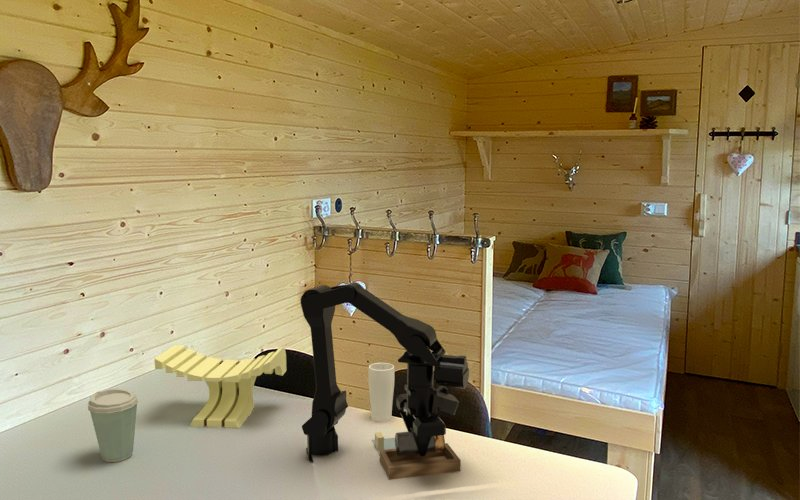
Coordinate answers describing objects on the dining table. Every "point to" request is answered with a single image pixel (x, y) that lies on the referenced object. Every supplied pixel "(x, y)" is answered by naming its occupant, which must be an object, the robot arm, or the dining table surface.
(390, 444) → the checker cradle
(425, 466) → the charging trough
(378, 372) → the drinking glass
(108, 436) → the disposable coffee cup
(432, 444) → the battery cell
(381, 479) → the dining table surface
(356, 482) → the dining table surface
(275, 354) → the slatted curved stool
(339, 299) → the robot arm
